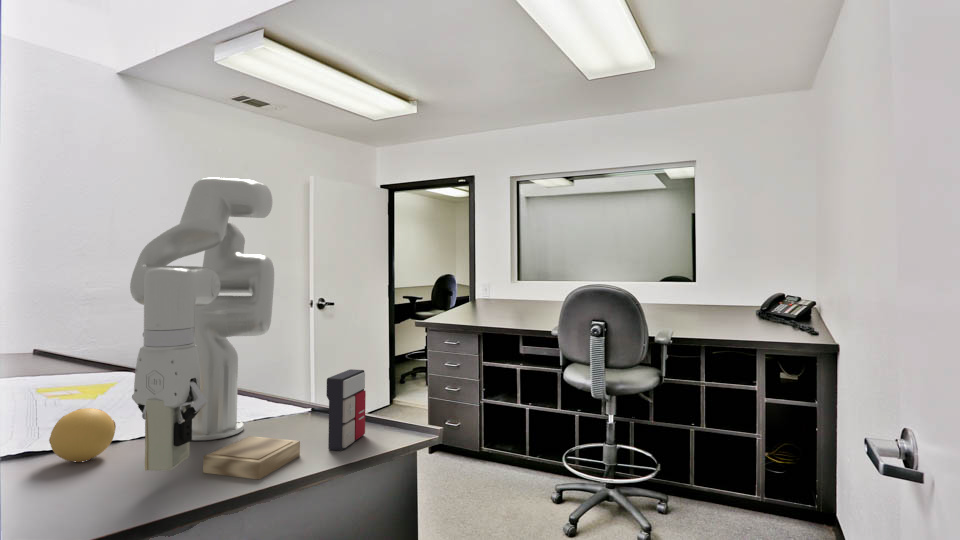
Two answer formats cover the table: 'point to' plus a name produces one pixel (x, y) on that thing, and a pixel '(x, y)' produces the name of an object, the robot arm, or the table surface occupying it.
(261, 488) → the table surface
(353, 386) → the grey red panelled box
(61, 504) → the table surface
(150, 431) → the skincare box
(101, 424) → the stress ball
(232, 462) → the oak plinth
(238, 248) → the robot arm
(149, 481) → the table surface
